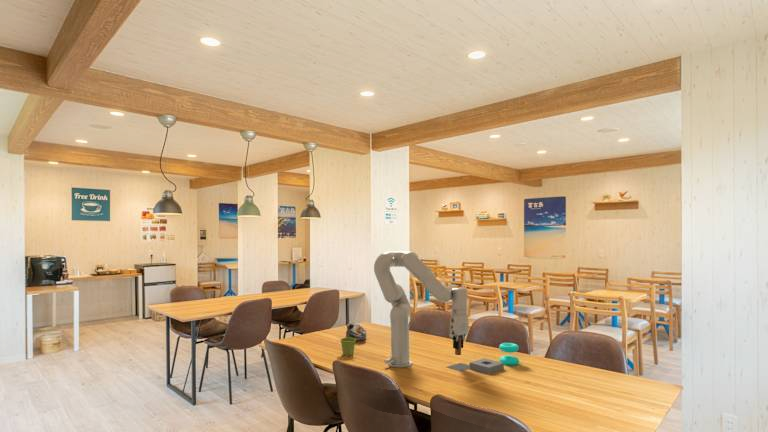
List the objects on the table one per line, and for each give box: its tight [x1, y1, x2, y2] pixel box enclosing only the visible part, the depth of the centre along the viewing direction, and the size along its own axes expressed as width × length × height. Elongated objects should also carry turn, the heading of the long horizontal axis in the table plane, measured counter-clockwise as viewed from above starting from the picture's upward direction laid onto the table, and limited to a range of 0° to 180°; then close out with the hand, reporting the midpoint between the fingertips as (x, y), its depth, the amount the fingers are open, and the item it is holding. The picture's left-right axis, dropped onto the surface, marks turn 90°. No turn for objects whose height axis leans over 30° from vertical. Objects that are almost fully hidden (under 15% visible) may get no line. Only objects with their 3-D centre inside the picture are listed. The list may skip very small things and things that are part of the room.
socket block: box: [469, 358, 505, 375], centre depth 222 cm, size 12×12×4 cm
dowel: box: [454, 335, 462, 356], centre depth 227 cm, size 3×3×11 cm
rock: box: [345, 323, 368, 341], centre depth 290 cm, size 15×12×14 cm
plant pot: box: [339, 337, 357, 357], centre depth 254 cm, size 9×9×9 cm
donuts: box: [498, 342, 520, 367], centre depth 233 cm, size 10×10×10 cm
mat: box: [445, 362, 471, 373], centre depth 226 cm, size 12×10×1 cm
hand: (458, 347), depth 227 cm, fingers closed on dowel, 3 cm apart
